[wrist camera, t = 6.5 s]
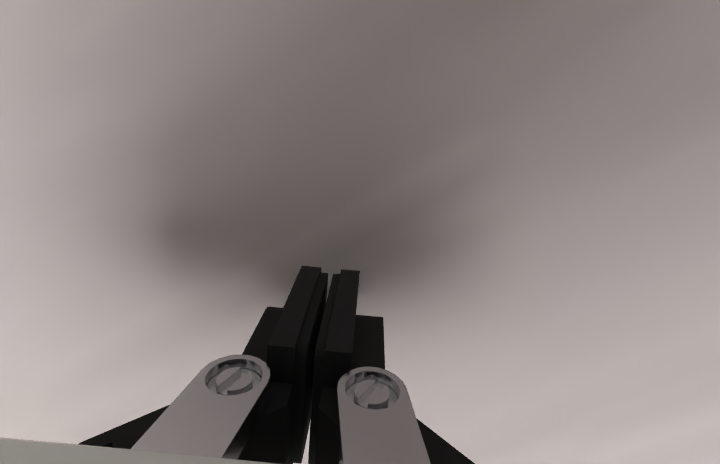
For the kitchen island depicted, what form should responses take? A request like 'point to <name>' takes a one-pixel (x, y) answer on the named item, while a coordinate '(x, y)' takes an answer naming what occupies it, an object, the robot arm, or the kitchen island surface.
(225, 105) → the kitchen island surface
